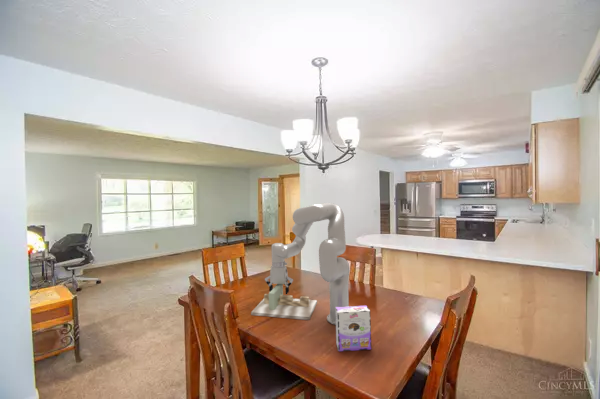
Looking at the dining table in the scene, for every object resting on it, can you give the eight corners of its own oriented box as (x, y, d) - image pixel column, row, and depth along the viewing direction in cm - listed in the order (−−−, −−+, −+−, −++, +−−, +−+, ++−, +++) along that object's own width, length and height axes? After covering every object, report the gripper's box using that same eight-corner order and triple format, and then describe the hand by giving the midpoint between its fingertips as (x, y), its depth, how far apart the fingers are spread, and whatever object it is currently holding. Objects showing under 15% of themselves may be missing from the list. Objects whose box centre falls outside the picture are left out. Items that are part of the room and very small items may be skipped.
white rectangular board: (316, 302, 162) (316, 291, 162) (309, 320, 140) (309, 307, 140) (265, 299, 169) (265, 288, 169) (251, 314, 148) (250, 303, 148)
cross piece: (278, 298, 166) (277, 283, 166) (283, 298, 166) (282, 283, 165) (269, 309, 151) (268, 293, 150) (274, 309, 150) (273, 293, 150)
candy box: (367, 342, 119) (366, 304, 118) (371, 350, 113) (370, 310, 112) (335, 343, 118) (335, 306, 118) (338, 351, 112) (337, 312, 112)
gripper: (294, 263, 164) (294, 291, 165) (266, 262, 169) (267, 289, 169) (290, 266, 157) (291, 296, 158) (262, 265, 161) (263, 294, 162)
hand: (279, 292), depth 163 cm, fingers open, 9 cm apart
